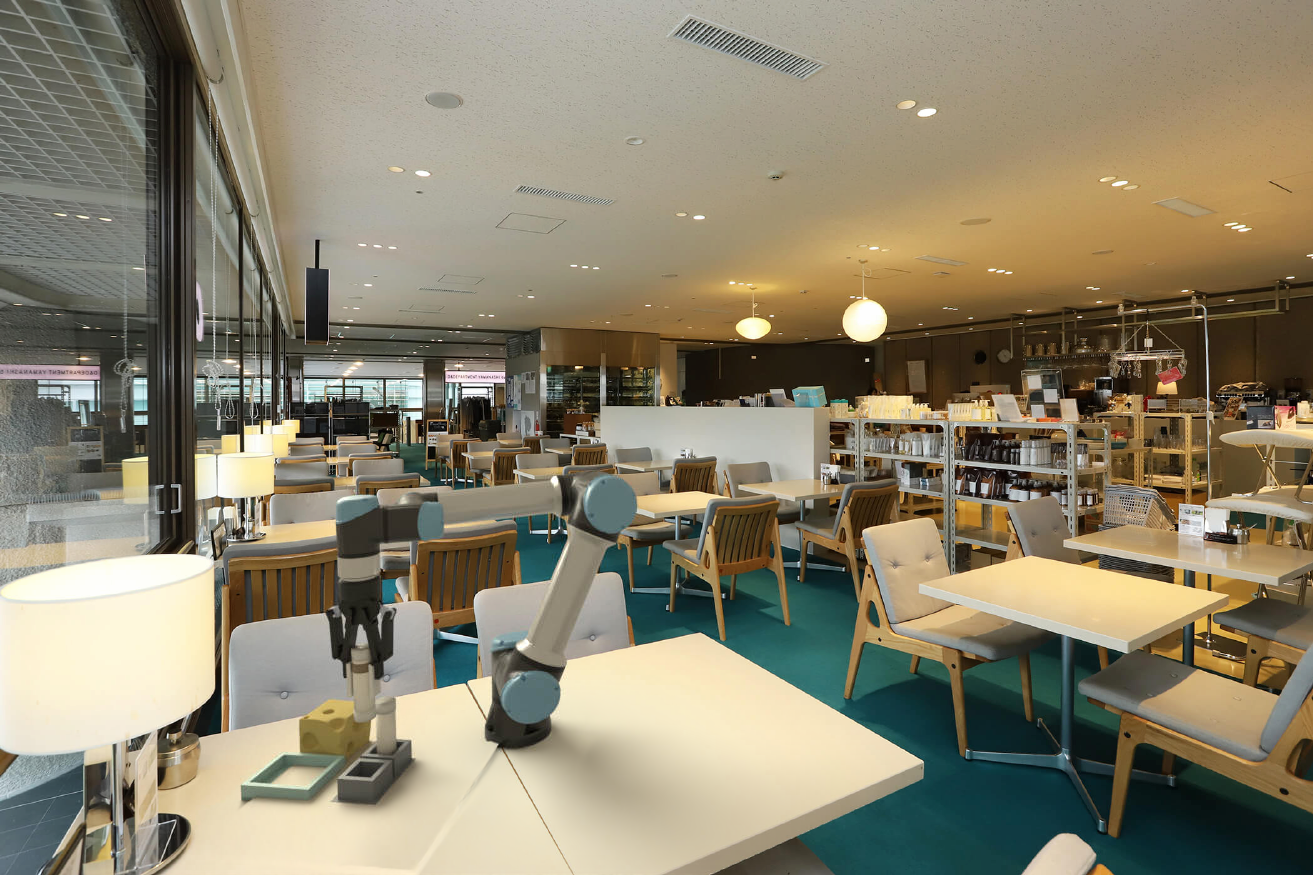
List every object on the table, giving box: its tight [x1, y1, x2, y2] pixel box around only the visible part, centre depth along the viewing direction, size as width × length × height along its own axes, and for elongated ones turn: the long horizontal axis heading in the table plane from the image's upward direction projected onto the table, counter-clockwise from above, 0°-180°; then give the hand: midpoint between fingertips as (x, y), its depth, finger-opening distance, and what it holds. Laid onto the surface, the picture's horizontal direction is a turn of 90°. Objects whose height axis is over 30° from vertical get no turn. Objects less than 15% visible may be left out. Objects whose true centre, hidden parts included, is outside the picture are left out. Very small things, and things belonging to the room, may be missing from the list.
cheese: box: [298, 698, 372, 762], centre depth 143 cm, size 10×11×10 cm
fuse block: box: [330, 696, 416, 806], centre depth 132 cm, size 9×16×15 cm, turn 173°
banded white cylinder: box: [351, 642, 376, 722], centre depth 127 cm, size 4×4×14 cm
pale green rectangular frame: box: [240, 751, 346, 801], centre depth 132 cm, size 14×12×3 cm
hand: (364, 694), depth 127 cm, fingers closed on banded white cylinder, 4 cm apart
